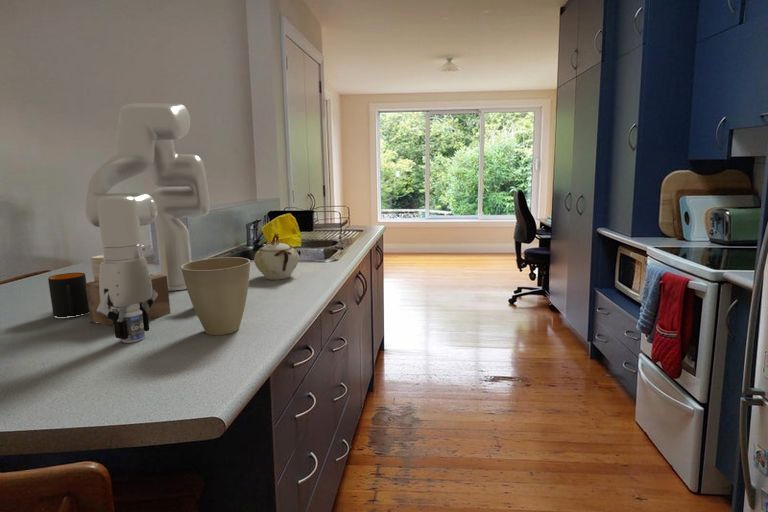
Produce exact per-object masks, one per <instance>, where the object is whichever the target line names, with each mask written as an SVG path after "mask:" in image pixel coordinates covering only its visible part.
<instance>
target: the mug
mask: <svg viewBox="0 0 768 512" xmlns="http://www.w3.org/2000/svg"><path fill="white" fill-rule="evenodd" d="M86 278H87V277H86V273H85V272H68V273H67V272H66V273H61V274H60V273H59V274H55V275H52V276H49V277H47V281H48V287H49V294H50V301H51V306H52V307H51V308H52V315H54V316H57V317H67V316H76V315H81V314H85V313H88V312H89V306H88V298H87V291H86V284H85V283H87V279H86ZM88 314H89V313H88ZM54 316H53V317H54Z"/></svg>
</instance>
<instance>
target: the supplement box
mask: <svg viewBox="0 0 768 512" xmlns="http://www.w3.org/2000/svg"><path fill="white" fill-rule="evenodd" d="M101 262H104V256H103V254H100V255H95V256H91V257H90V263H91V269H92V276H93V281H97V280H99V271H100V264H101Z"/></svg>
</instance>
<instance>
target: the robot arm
mask: <svg viewBox="0 0 768 512" xmlns="http://www.w3.org/2000/svg"><path fill="white" fill-rule="evenodd" d="M190 127H191V117H190V113H189V111H188V109H187V107H186V106H185V105H184V104H182V103H151V102H150V103H128V104H125V105H122V106H121V108H120V109H119V116H118V122H117V129H116V130H117V131H116V139H115V140H116V141H115V146H114V154H113V155H112V156H110V157H109V158H108V159H106V160H105V161H104V162H103V163H102V164H101V165H99V167H97V168H96V170H94V172H93V173H92V175H91V176H90V178H89V180H88V184H87V188H86V189H87V190H86V196H85V201H84V203H85V204H84V205H85V208H84V210H85V217H86V219H87V220H88V222H89V223H90V224H91V225H92V226H94V227H97V228H99V232H100V237H101V238H100V239H101V247H102V255H103V256H104V262H101V264H100V271H99V293H100V304H99V306H98V308H97V312H98V313H100V314H102V315H105V316H106V317H107V318H109V319H110V321H113V325H114V326H113V333H114V337H115V339H120V340H121V339H127V338H128V331H127V323H126V321H123V319H124V311H125V307H127V306H130V305H133V304H136V303H139V304H140V310H141V311H142V315H143V324H144V332H148V331H150V322H149V321H150V320H148V313H149V312H150V307H151V306H152V304H153V301H154V300H155V299H156V297H157V296H158V293H157V292H156V291H155V290H154V289H153V288H152V283H151V277H150V274H151V273H150V269H149V268H150V267H149V265H148V262H147V259H146V257H145V256H144V253H143V251H145V250H146V246H145V244H142V235H141V227H143V226H149V225H150V224H152V223H154V225H155V233H156V242H157V244H156V245H157V252H158V260H159V270H160V271H159V272H157V273H156V275H163V276H167V284H168V292H171V291H184V290H187V288H186V284H185V281H184V277H183V273H182V269H181V266H182V265H184V264H186V263H189V262H192V261H193V260H192V252H191V251H192V250H191V240H190V231H189V229H188V227H187V226H186V225H185V224H184V223H183V221H181V220H180V219H183V218H184V219H185V218H200V217H205V216H207V215H209V213H210V211H211V200H210V192H209V187H208V185H209V184H208V181H207V180H208V179H207V173H206V168H205V165H204V161H203V160H202V158H201V157H200V156H198V155H196V154H191V153H190V154H181V153H180V154H178V153H177V152H176V149H175V143H174V140H175V141H176V140H180V139H183V137H185V136H187V134H188V133H189V131H190ZM145 172H147V173H148V176H149V180H150V182H151V183H152V185H154V186H157V187H161V188H156V189H155V190H153V191H152V192H151V193H150V195H149V194H148V193H144V192H128V193H127V192H123V193H122V192H119V193H109V191H110V190H111V189H112V188H113V187H115V186H116V185H117V184H119V183H121V182H123V181H125V180H128V179H130V178H133V177H135V176H138V175H141V174H142V173H145ZM110 306H111V311H110V310H109V309H108V307H110ZM117 310H118V314H117Z"/></svg>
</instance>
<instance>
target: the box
mask: <svg viewBox="0 0 768 512" xmlns="http://www.w3.org/2000/svg"><path fill="white" fill-rule="evenodd" d="M150 277H151V283H152V288H153V289H154V290H155V291H156V292H157V293H158V296H157V297H156V299H155V300H154V301H153V304H152V306H151V307H150V312H149V313H148V320H149V321H151V320H154V319H158V318H161V317H163V316H166V315H169V314H171V304H170V297H169V296H170V294H169V291H168V284H167V276H163V275H157V274H152V273H150ZM85 284H86V291H87V298H88V306H89V313H88V314H89V320H90V323H91V322H98V323H103V324H102V325H105V324H108V325H107V326H111V325H113V321H110V319H109V318H107V317H106V316H105V315H102V314H100V313H98V312H97V308H98V306H99V304H100V293H99V280H97V281H94V280H93V281H89V282H86V283H85ZM108 309H109V310H110V311H111V306H110V307H108ZM117 314H118V310H117ZM98 323H97V324H98Z"/></svg>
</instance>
